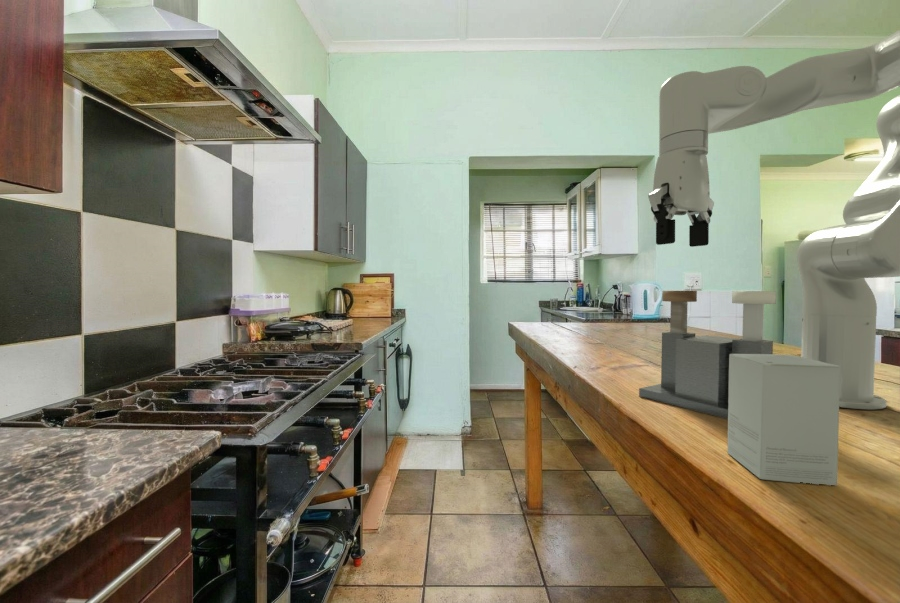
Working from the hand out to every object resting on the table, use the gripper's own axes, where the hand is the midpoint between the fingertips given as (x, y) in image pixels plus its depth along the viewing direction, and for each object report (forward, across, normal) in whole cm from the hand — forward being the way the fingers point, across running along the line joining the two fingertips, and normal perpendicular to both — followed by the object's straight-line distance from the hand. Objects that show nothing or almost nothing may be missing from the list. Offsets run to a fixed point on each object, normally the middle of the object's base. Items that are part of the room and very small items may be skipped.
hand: (682, 244), depth 71 cm
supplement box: (+28, +17, +22) cm, 40 cm away
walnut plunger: (+20, -2, -2) cm, 21 cm away
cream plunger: (+20, -3, +10) cm, 23 cm away
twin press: (+28, -2, +4) cm, 29 cm away
